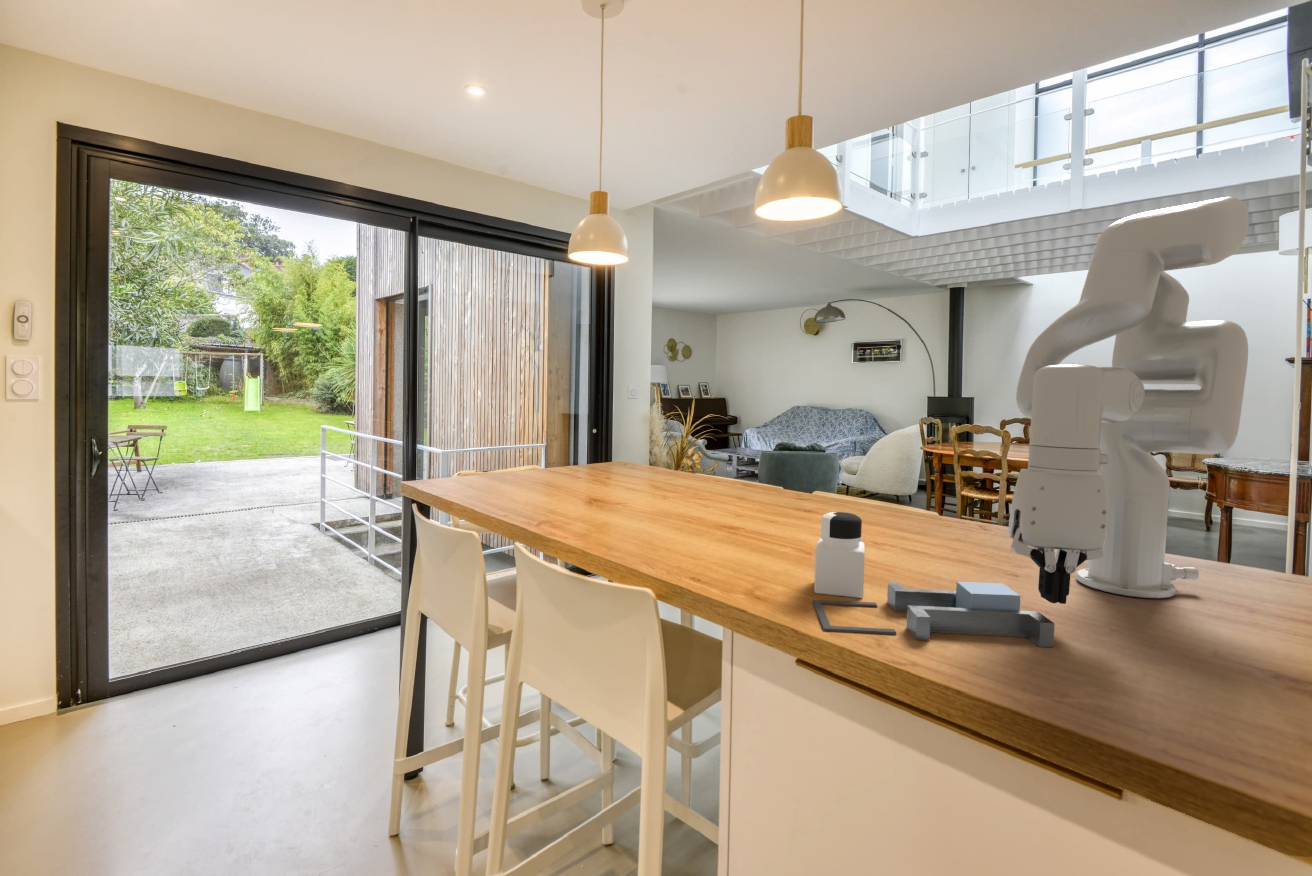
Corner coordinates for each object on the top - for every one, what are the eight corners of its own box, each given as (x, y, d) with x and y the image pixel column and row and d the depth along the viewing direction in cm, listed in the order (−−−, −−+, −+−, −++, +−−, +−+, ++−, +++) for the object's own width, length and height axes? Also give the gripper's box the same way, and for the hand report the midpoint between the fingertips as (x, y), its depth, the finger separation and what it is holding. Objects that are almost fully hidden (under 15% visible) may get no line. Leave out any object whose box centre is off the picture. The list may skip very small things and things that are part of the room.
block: (1000, 618, 82) (1002, 583, 82) (1018, 633, 77) (1020, 595, 77) (955, 616, 83) (956, 581, 83) (969, 630, 78) (971, 593, 78)
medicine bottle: (863, 584, 96) (865, 511, 96) (863, 599, 90) (865, 520, 89) (817, 580, 99) (819, 508, 98) (814, 593, 92) (816, 516, 91)
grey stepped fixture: (1002, 607, 86) (1003, 587, 86) (1053, 647, 73) (1054, 623, 73) (887, 601, 88) (887, 582, 88) (915, 639, 75) (916, 616, 75)
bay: (875, 604, 87) (875, 602, 87) (896, 634, 76) (896, 632, 76) (812, 601, 88) (812, 599, 88) (823, 630, 78) (824, 628, 78)
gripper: (1106, 461, 80) (1097, 595, 81) (989, 456, 82) (980, 587, 83) (1145, 466, 73) (1134, 614, 74) (1014, 461, 75) (1005, 605, 76)
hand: (1052, 599), depth 78 cm, fingers closed
